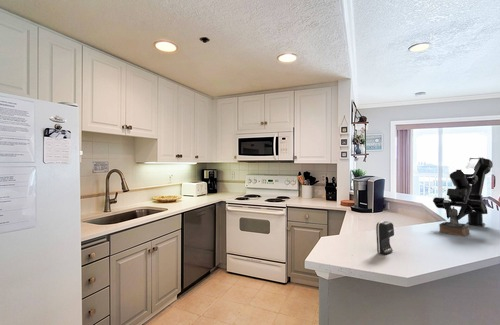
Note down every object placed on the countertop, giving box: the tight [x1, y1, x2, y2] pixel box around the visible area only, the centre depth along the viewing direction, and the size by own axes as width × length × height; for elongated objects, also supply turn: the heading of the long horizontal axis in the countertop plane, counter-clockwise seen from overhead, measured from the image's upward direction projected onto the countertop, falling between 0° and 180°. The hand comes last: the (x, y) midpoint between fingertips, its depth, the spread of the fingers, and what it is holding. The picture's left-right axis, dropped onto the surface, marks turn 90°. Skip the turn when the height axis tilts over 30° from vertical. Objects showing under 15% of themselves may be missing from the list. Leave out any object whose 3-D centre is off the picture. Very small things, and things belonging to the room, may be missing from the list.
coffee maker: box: [375, 220, 395, 255], centre depth 91 cm, size 7×4×11 cm, turn 126°
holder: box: [439, 221, 470, 237], centre depth 115 cm, size 9×9×4 cm
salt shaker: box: [447, 206, 462, 227], centre depth 115 cm, size 6×6×12 cm
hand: (452, 218), depth 114 cm, fingers closed on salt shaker, 4 cm apart
